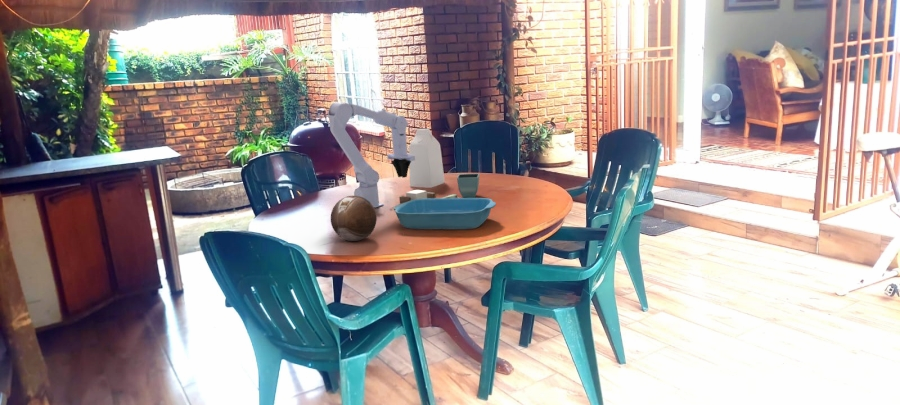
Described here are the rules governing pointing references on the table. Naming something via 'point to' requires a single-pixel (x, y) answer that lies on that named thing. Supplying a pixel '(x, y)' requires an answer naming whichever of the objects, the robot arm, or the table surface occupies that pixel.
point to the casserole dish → (444, 213)
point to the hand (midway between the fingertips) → (402, 177)
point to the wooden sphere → (353, 218)
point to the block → (417, 194)
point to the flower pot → (468, 185)
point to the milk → (425, 160)
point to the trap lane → (429, 195)
